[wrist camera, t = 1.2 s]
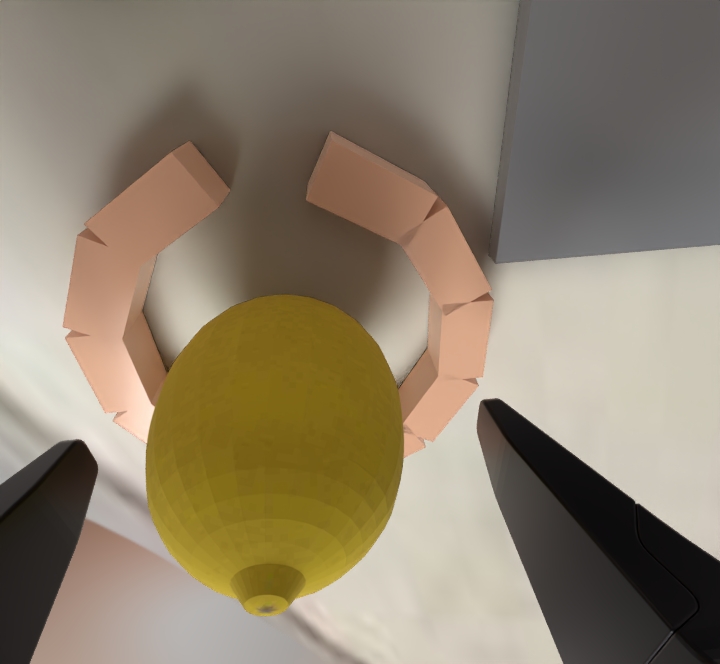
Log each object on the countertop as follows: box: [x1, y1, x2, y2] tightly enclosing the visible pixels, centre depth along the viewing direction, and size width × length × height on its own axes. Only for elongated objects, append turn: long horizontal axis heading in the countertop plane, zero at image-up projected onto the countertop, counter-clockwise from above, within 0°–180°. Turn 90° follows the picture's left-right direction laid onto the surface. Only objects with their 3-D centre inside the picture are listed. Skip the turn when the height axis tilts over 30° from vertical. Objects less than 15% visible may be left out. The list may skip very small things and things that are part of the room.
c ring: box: [63, 131, 494, 458], centre depth 12 cm, size 11×11×2 cm
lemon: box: [146, 294, 404, 616], centre depth 10 cm, size 6×6×8 cm
